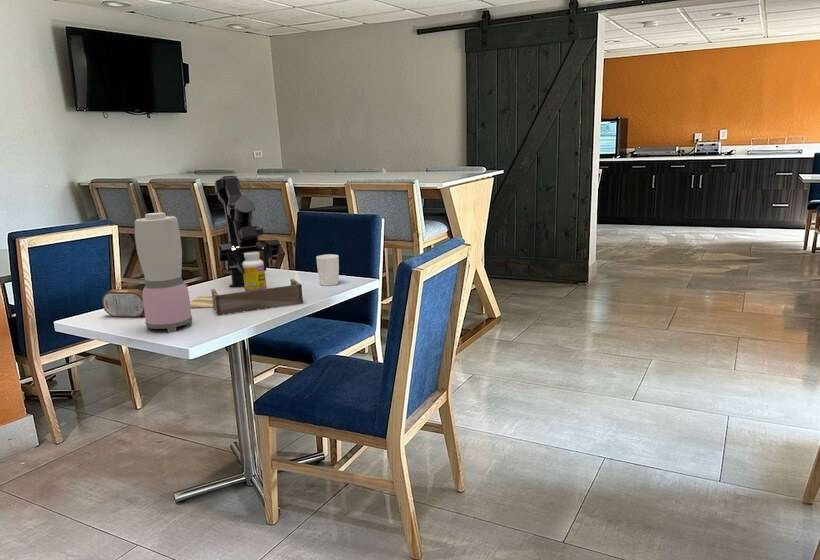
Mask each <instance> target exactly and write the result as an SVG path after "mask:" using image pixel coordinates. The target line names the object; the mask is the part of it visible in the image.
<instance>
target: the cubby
mask: <svg viewBox="0 0 820 560" xmlns="http://www.w3.org/2000/svg"><path fill="white" fill-rule="evenodd" d="M289 282H290V285H284V286H283V285H282V286H277V287H268V288H267V289H260V290H252V291H245V290H244V291H239V292H230V293H223V294H222V293H221V294H219V293H218V292H217V291H216V289H215V288H211V296H212V301H213V308H212V309H213V311H216V312H215V313H216V315H217V316H223V315H222V314H225V315H229V314H228V313H232V314H236V313H235V312H239V313H244V312H243V311H246V312H252V311H251V310H253V311H258V310H257V309H260V310H266V309H265V308H267V309H273V308H272V307H274V308H279V307H288V306H293V305H299V304H300V305H301V304H304V299H303V298H304V297H303V287H302V284H301V283H300V282H298V281H297V280H296V279H294V278H290V281H289Z"/></svg>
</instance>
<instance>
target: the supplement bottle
mask: <svg viewBox="0 0 820 560" xmlns="http://www.w3.org/2000/svg"><path fill="white" fill-rule="evenodd" d="M244 257H245V261H244V262H243V263H242V266H243V270H244V274H243V277H244V285H245V286H244V291H252V290H260V289H267V280H266V273H265V272H266V271H265V270H264V262H263V260H262V259H260V252H257V251H253V252H246V253H244Z"/></svg>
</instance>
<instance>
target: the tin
mask: <svg viewBox="0 0 820 560" xmlns="http://www.w3.org/2000/svg"><path fill="white" fill-rule="evenodd" d="M142 294H143V290H140V289H136V288H135V289H133V288H132V289H131V288H128V289H127V288H124V289H123V288H112V289H111V290H109V291H107V292H106V293H105V294H104V295H103V296H102V298H101V302H102V307H103V310H104V312H106V314H108V315H109V316H110V317H114V318H140V317H142V316H145V312H144V305H143V297H142Z"/></svg>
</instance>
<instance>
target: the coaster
mask: <svg viewBox="0 0 820 560" xmlns="http://www.w3.org/2000/svg"><path fill="white" fill-rule="evenodd" d="M211 307H213V301H212V295H209V296H197V297H196V298H194V299H192V300H191V301H190V308H192V309H212V308H211Z"/></svg>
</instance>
